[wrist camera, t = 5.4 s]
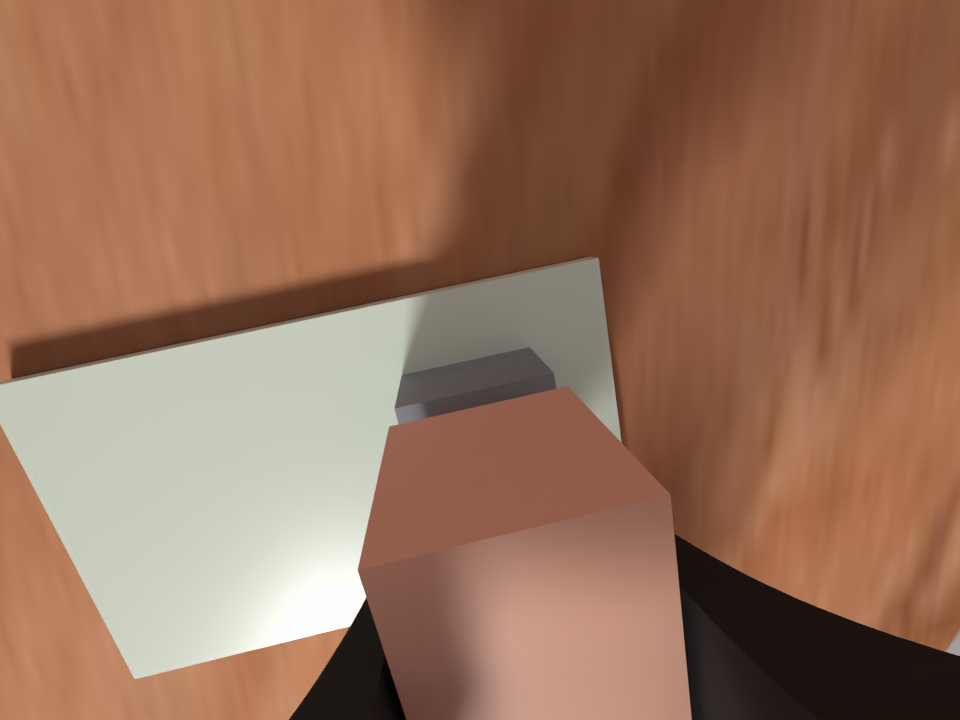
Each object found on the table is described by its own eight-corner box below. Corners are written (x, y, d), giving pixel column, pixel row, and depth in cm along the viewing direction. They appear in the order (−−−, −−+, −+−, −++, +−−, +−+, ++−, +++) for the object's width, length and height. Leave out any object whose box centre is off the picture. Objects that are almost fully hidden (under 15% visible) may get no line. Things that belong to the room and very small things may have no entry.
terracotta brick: (567, 386, 11) (670, 494, 6) (602, 610, 13) (701, 823, 8) (389, 426, 11) (357, 569, 6) (450, 648, 13) (461, 891, 8)
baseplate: (588, 256, 16) (598, 257, 15) (625, 539, 19) (635, 555, 18) (9, 379, 15) (-19, 388, 14) (150, 656, 18) (134, 679, 17)
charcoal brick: (529, 346, 16) (553, 372, 13) (559, 518, 18) (586, 578, 14) (401, 375, 15) (394, 408, 12) (445, 546, 17) (449, 612, 14)
